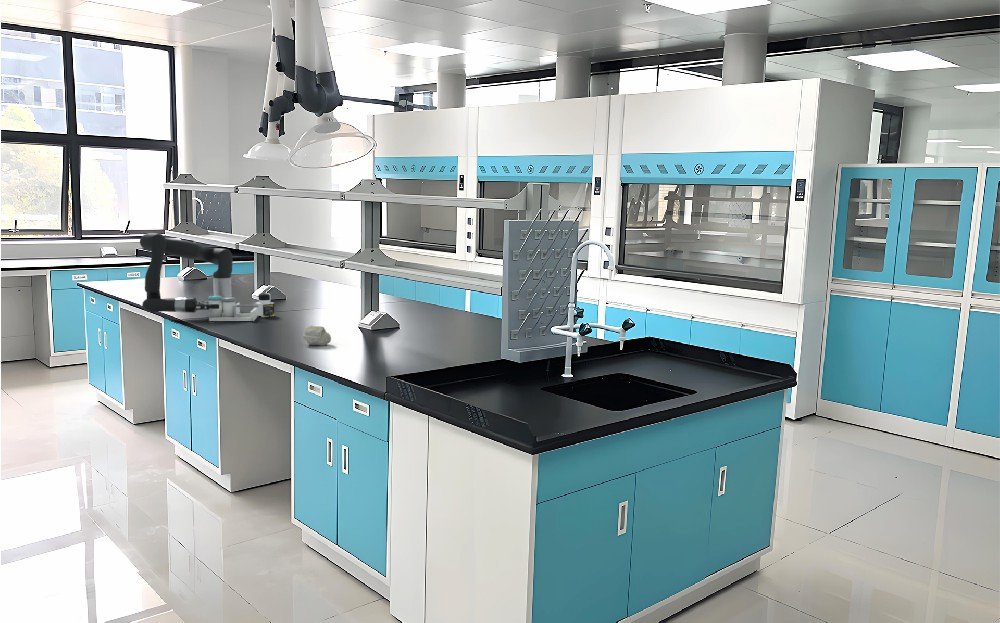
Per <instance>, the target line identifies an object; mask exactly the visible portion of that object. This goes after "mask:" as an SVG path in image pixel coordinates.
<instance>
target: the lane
mask: <svg viewBox="0 0 1000 623" xmlns="http://www.w3.org/2000/svg"><path fill="white" fill-rule="evenodd" d="M256 319H258V316H257V308H255V307H253V309H252V310H251V311H250V313H249V312H247V313H244V312H243V313H241V312H240V317H223V312H222V317H216V318H209V317H208V322H209V321H253V322H255V320H256Z"/></svg>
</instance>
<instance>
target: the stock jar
mask: <svg viewBox="0 0 1000 623" xmlns="http://www.w3.org/2000/svg"><path fill="white" fill-rule="evenodd" d="M222 302H223V309H222V313H223V317H234V305H235V304H236V297H232V296H231V297H226V298H222Z"/></svg>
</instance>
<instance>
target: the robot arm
mask: <svg viewBox="0 0 1000 623" xmlns="http://www.w3.org/2000/svg"><path fill="white" fill-rule="evenodd" d="M139 243H140V246H141V248H142V249H144V250H145V251H147V252H151V257H150V258H151V259H150V263H149V265H148V267H147V269H146V272H145V276H144V291H145V292H146V298H145V299H144V300H143V302H142V304H141V305H142V308H143V310H145V312H147V313H159V312H167V313H168V312H169V313H196V312H197V311H199V310H200V311H202V310H204V311H206V310H208V311H209V309H219V304H209V300H200V301H197V298H196V297H167V298H161V292H160V290H161V276H162V274H161V273H162V268H163V262H164V256H165V254H167V255H171V256H175V257H178V258H182V259H187V260H194V261H195V260H196V261H198V260H199V261H204V262H207V263H210V264H213V265H217V270H216V271H214V272H213V273H212V280H213V285H212V286H213V296H222V298H226V297H232V272H233V253H232V252H231V250H230V249H228V248H218V247H206V246H204V245H201V244H199V243H197V242H193V241H190V240H185V239H178V238H175V239H174V238H166V237H165V236H164V235H163V234H162V233H157V232H156V233H155V232H148V233H145V234H143V235H141V237H140V239H139ZM221 303H222V310H223V302H222V300H221Z"/></svg>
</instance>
